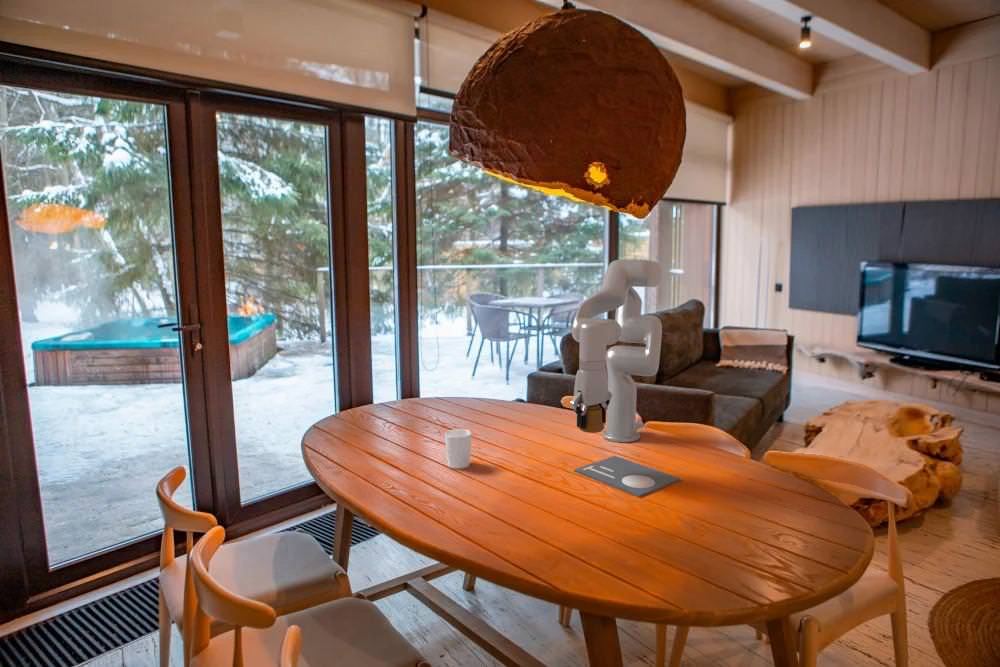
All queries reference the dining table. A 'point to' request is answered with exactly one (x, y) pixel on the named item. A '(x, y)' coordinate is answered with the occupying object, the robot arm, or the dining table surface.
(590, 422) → the ornamental finial
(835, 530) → the dining table surface
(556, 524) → the dining table surface
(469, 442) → the white cup
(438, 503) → the dining table surface
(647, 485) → the slate board
